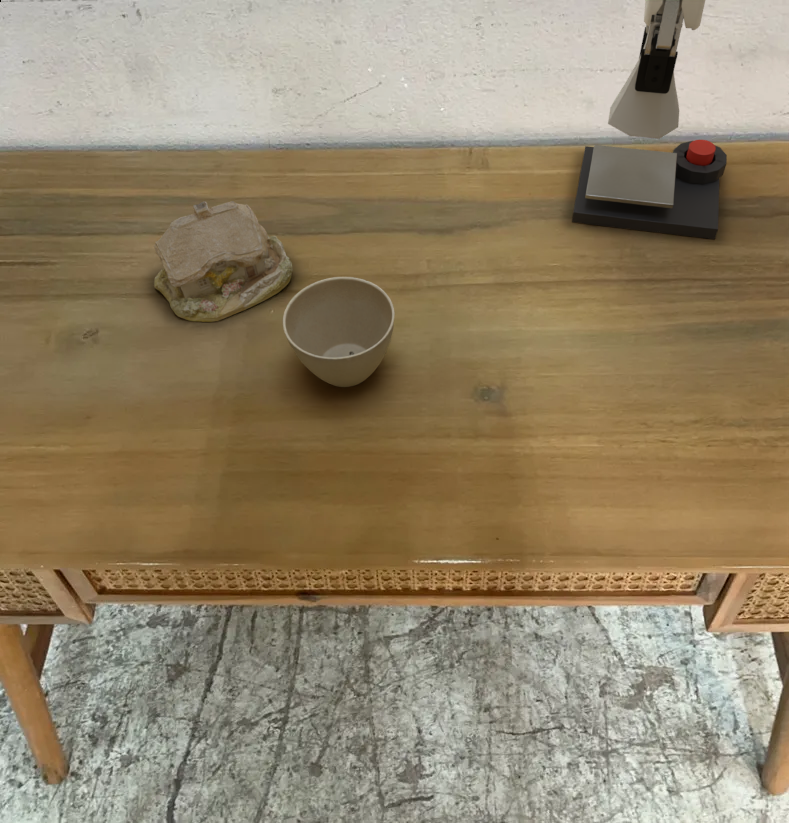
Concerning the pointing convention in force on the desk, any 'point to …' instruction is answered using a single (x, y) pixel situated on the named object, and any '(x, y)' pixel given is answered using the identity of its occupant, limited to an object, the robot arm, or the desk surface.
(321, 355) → the bowl
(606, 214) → the scale
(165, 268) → the ceramic model
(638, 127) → the flask
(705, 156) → the tare button
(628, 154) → the pan
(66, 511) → the desk surface
